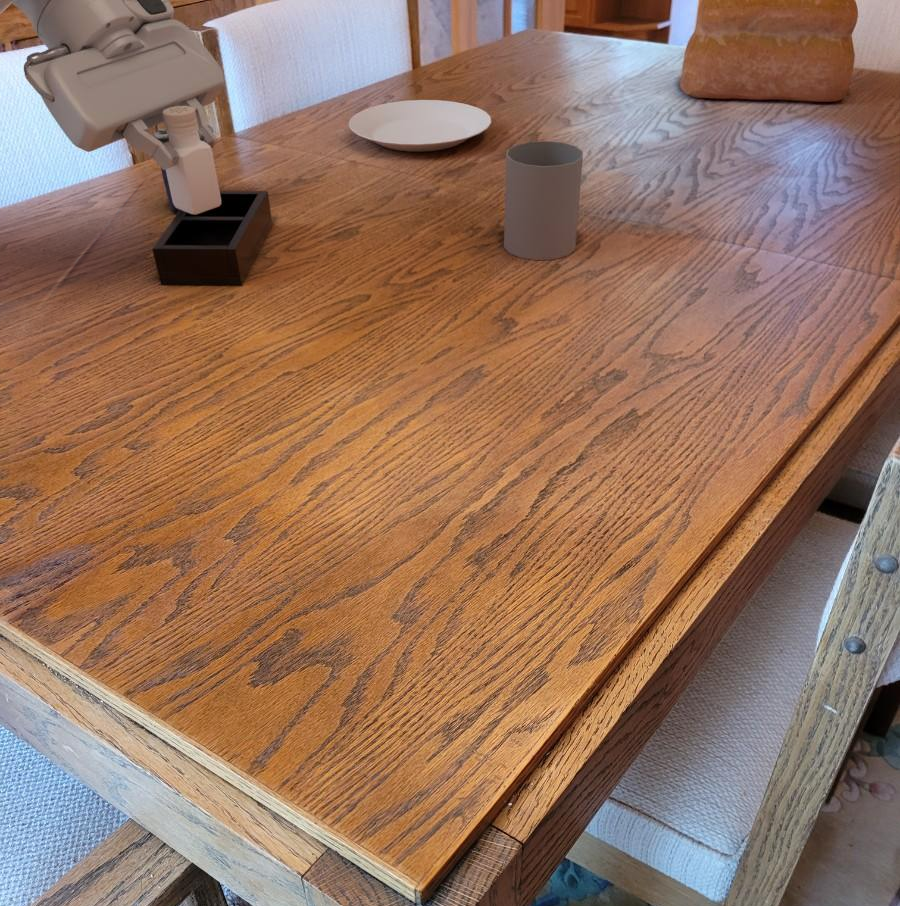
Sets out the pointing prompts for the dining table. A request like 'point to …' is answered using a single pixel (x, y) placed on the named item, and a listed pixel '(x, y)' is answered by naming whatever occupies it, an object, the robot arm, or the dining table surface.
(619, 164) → the dining table surface
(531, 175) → the cup
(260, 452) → the dining table surface
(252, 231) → the box
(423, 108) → the plate
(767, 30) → the bread
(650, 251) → the dining table surface
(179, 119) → the salt shaker
